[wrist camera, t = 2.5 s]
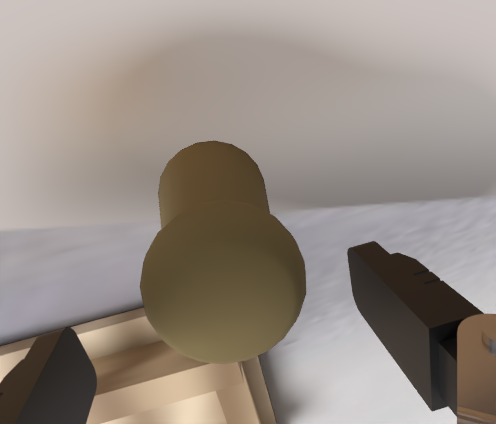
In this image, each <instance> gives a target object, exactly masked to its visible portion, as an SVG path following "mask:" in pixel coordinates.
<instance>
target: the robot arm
mask: <svg viewBox="0 0 496 424" xmlns="http://www.w3.org/2000/svg"><path fill="white" fill-rule="evenodd" d="M347 255H348V263H349V270H350V277H351V285H352V292H353V297H354V300H355V303H356V305H357V308H358V310H359V311H360V313H361V315H362V316H363V317H364V319H365V320H366V321H367V323H368V324H369V326H370V327H371V328H372V330H373V331H374V332H375V334H376V335H377V337H378V338H379V339H380V341H381V342H382V343H383V345H384V346H385V348H386V349H387V350H388V352H389V353H390V354H391V356H392V357H393V359H394V360H395V361H396V363H397V364H398V365H399V367H400V368H401V370H402V371H403V372H404V374H405V375H406V376H407V378H408V379H409V381H410V382H411V383H412V385H413V386H414V387H415V389H416V390H417V392H418V393H419V394H420V396H421V397H422V398H423V400H424V401H425V403H426V404H427V405H428V407H429V408H430V409H431V411H435V410H438V409H441V408H444V407H448V406H449V408H450V409H451V410H452V411H453V413H454V414H455V415H456V416H457V424H496V314H484V313H483V312H481V311H480V310H479V309H478V308H476V307H475V306H474V305H473V304H471V303H470V302H469V301H468V300H466V299H465V298H464V297H463V296H461V295H460V294H459V293H457V292H456V291H455V290H454V289H452V288H451V287H450V286H449V285H447V284H446V283H445V282H444V281H440V278H439V277H437V276H436V275H435V274H434V273H432V272H429V269H427V268H426V267H425V266H423V265H422V264H421V263H420V262H418V261H417V260H416V259H414V258H411V257H408V256H406V255H403V254H400V253H394V254H391V255H390V254H389V253H388V252H387V251H386V250H385V249H383V248H382V247H381V246H380V245H379V244H378V243H376V242H375V241H372V242H369V243H365V244H362V245H358V246H355V247H351V248H349V249H348V252H347ZM96 389H97V376H96V371H95V368H94V366H93V364H92V362H91V360H90V359H89V357H88V355H87V353H86V351H85V349H84V347H83V345H82V343H81V342H80V340H79V338H78V336H77V334H76V332H75V331H74V330H73V329H72V328H70V327H67V328H63V329H60V330H56V331H52V332H49V333H45V334H42V335H40V336H38V337H37V338H36V340H35V342H34V343H33V345H32V346H31V348H30V350H29V351H28V353H27V355H26V356H25V358H24V359H22V360H21V361H20V362H19V363H18V364H17V365H16V366H15V367H14V368H13V369H12V370H11V371H10V372H9V373H8V374H7V375H6V376H5V377H4V378H3V380H2V381H1V383H0V424H86V422H87V419H88V416H89V412H90V409H91V406H92V403H93V400H94V396H95V393H96Z"/></svg>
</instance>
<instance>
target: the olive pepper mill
mask: <svg viewBox="0 0 496 424" xmlns="http://www.w3.org/2000/svg"><path fill="white" fill-rule="evenodd" d="M158 195H159V205H160V206H159V207H160V217H161V227H162V229H161V230H160V231H159V232H158V233H157V235H156V237H155V239H154V241H153V243H152V244H151V246H150V248H149V250H148V252H147V253H146V256H145V259H144V262H143V268H142V275H141V282H140V290H141V295H142V300H143V304H144V308H145V313H146V317H147V319H148V321H149V322H150V324H151V325H152V327H153V328H154V330H155V331H156V333H157V334H158V335H159V337H160V338H161V339H162V340H163V341H164V342H165V343H166V344H168V345H169V346H170V347H172V348H173V349H174V350H176V351H177V352H179V353H180V354H181V355H183V356H185V357H188V358H191V359H194V360H197V361H200V362H202V363H214V364H229V363H235V362H241V361H246V360H249V359H251V358H253V357H256V356H258V355H260V354H262V353H265V352H267V351H268V350H269V349H271V348H272V347H273V346H274V345H276V344H277V343H278V342H280V341H281V340H282V339H283V338H284V337H285V336H286V334H287V333H288V331H289V330H290V329H291V327H292V326H293V324H294V323H295V322H296V320H297V318H298V316H299V314H300V311H301V308H302V305H303V302H304V298H305V295H306V273H305V263H304V260H303V257H302V255H301V252H300V250H299V248H298V245H297V243H296V241H295V239H294V238H293V236H292V235H291V233H290V232H289V231H288V230H287V229H286V228H285V227H284V226H283V225H282V224H281V223H280V221H279V220H278V219H277V218H276V217H275V216H273V215H271V214H270V211H269V206H268V200H267V195H266V190H265V184H264V179H263V177H262V175H261V172H260V170H259V168H258V165H257V164H256V163H255V162H254V161H253V160H252V159H251V157H250V156H249V155H248V154H247V153H246V152H244V151H243V150H241V149H239V148H237V147H235V146H234V145H232V144H228V143H223V142H218V141H208V142H199V143H195V144H193V145H191V146H189V147H187V148H184V149H182V150H181V151H180V152H178V153H177V154H176V155H175V156H174V157H173V158H172V159H171V160H170V161H169V162H168V164H167V166H166V167H165V169H164V172H163V173H162V175H161V177H160V184H159V192H158Z"/></svg>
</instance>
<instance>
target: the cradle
mask: <svg viewBox="0 0 496 424" xmlns="http://www.w3.org/2000/svg"><path fill="white" fill-rule="evenodd" d="M70 328H72V329H73V330H74V331H75V332H76V334H77V336H78V338H79V340H80V342H81V343H82V345H83V347H84V349H85V351H86V353H87V355H88V357H89V359H90V360H91V362H92V364H93V366H94V368H95V371H96V376H97V389H96V393H95V396H94V400H93V403H92V406H91V409H90V412H89V416H88V419H87V422H86V424H277V423H276V419H275V416H274V412H273V409H272V405H271V401H270V398H269V394H268V391H267V387H266V384H265V380H264V376H263V373H262V369H261V366H260V362H259V358H258V356H256V357H253V358H251V359H249V360H246V361H241V362H235V363H229V364H214V363H202V362H200V361H197V360H194V359H191V358H188V357H185V356H183V355H181V354H180V353H179V352H177V351H176V350H174V349H173V348H172V347H170V346H169V345H168V344H166V343H165V342H164V341H163V340H162V339H161V338H160V337H159V335H158V334H157V333H156V331H155V330H154V328H153V327H152V325H151V324H150V322H149V321H148V319H147V317H146V313H145V308H144V307H143V308H139V309H136V310H132V311H128V312H125V313H121V314H117V315H114V316H110V317H106V318H103V319H99V320H95V321H91V322H88V323H84V324H80V325H77V326H73V327H70ZM37 337H38V336H36V337H33V338H29V339H25V340H22V341H18V342H14V343H11V344H7V345H3V346H0V383H1V381H2V380H3V378H4V377H5V376H6V375H7V374H8V373H9V372H10V371H11V370H12V369H13V368H14V367H15V366H16V365H17V364H18V363H19V362H20V361H21V360H22V359H24V358H25V356H26V355H27V353H28V351H29V350H30V348H31V346H32V345H33V343H34V342H35V340H36V338H37Z"/></svg>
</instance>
